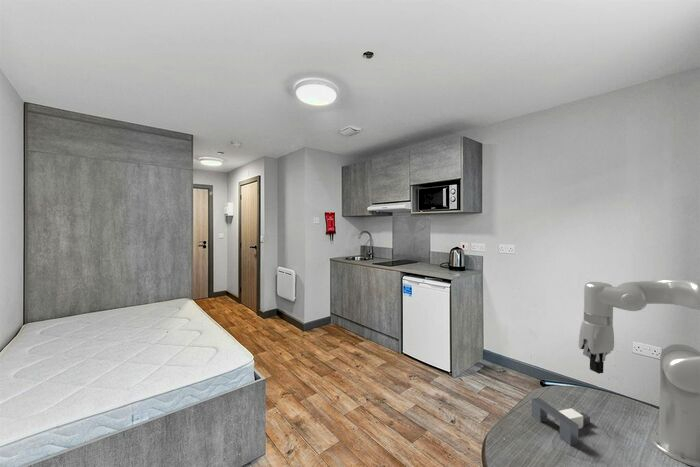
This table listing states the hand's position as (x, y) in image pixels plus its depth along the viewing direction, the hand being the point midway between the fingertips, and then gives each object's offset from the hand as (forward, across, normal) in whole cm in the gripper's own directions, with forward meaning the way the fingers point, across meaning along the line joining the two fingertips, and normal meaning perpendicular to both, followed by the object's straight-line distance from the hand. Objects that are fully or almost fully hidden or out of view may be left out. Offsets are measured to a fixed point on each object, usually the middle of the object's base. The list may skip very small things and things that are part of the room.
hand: (596, 371), depth 98 cm
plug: (+17, +10, 0) cm, 20 cm away
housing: (+17, +18, 0) cm, 25 cm away
